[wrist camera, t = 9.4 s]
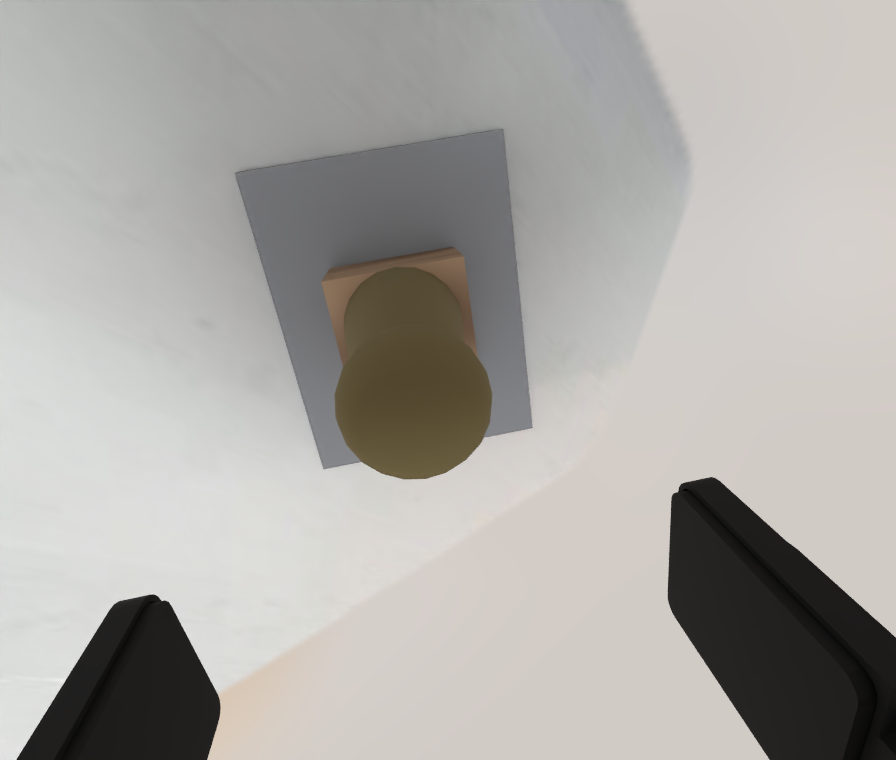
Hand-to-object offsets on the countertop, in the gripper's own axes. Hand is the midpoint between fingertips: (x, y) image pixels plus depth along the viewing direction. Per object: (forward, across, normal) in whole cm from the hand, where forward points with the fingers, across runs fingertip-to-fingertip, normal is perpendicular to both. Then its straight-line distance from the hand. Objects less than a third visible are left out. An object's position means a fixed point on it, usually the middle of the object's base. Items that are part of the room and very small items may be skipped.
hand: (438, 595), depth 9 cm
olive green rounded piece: (+17, 0, 0) cm, 17 cm away
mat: (+22, 0, 0) cm, 22 cm away
